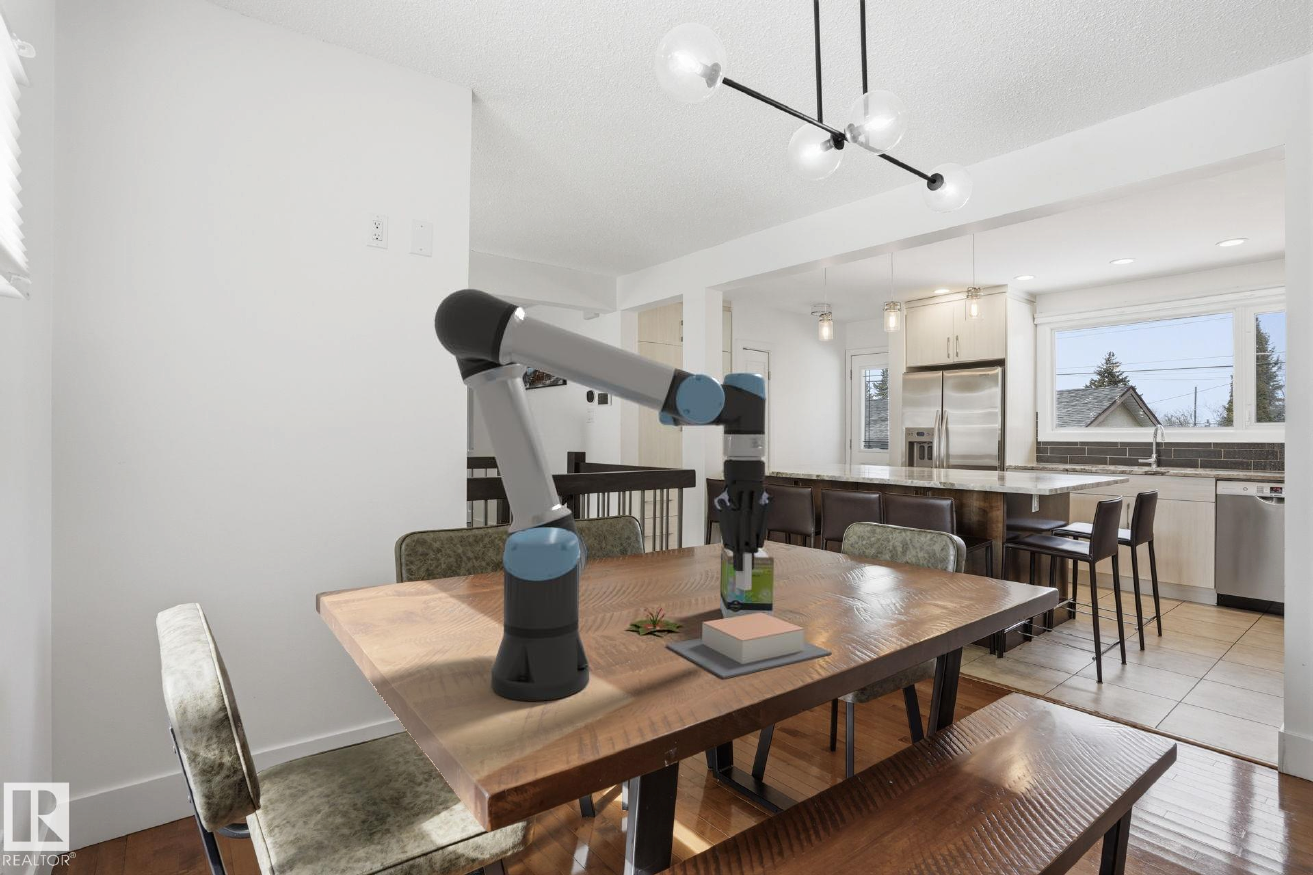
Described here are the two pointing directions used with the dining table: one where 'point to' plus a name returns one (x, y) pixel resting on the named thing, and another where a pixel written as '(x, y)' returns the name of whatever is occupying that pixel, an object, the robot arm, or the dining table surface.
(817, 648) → the mat
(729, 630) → the cream rectangular block
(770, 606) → the tea box
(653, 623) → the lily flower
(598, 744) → the dining table surface
